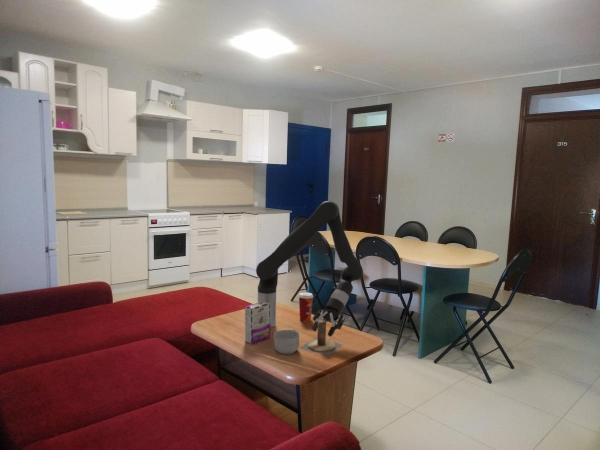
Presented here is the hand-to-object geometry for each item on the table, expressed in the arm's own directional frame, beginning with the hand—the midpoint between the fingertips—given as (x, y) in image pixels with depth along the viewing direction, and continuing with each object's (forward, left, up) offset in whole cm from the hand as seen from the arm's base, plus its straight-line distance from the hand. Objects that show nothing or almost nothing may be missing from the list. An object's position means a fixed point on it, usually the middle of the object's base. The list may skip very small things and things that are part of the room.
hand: (321, 333), depth 173 cm
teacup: (-10, -11, -7) cm, 16 cm away
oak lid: (0, 0, -6) cm, 6 cm away
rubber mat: (0, 0, -6) cm, 6 cm away
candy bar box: (-28, -9, -7) cm, 30 cm away
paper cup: (-24, +27, -7) cm, 37 cm away
